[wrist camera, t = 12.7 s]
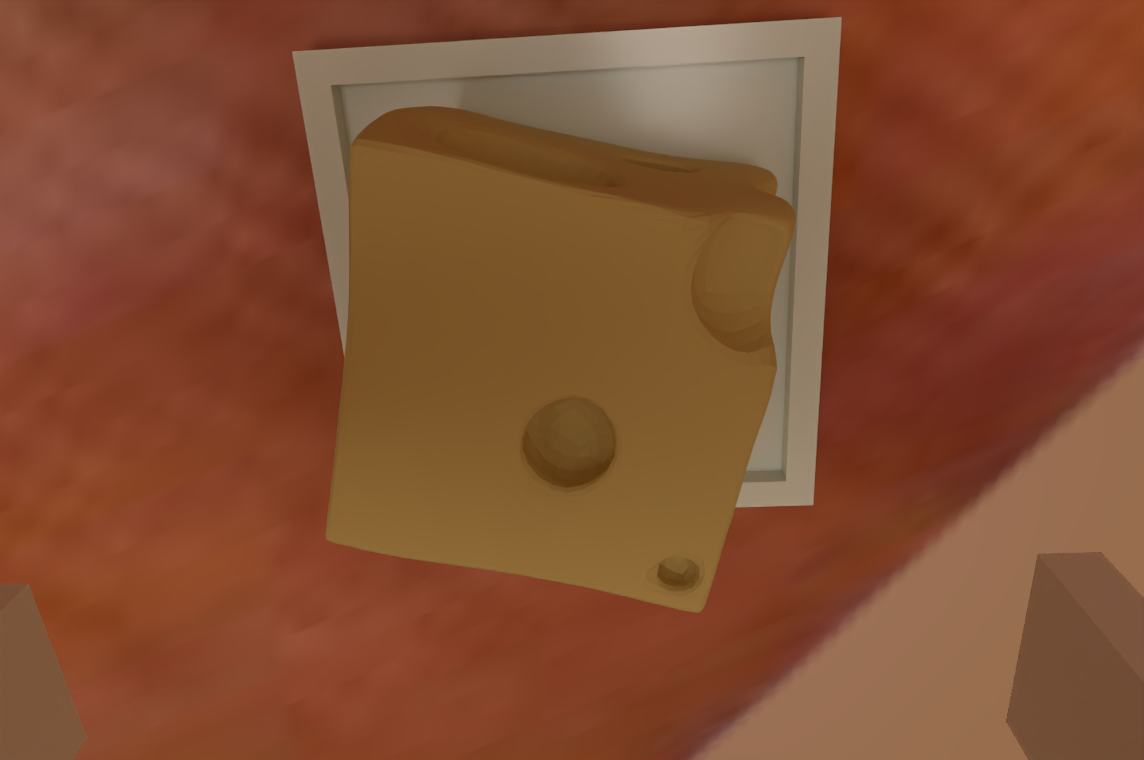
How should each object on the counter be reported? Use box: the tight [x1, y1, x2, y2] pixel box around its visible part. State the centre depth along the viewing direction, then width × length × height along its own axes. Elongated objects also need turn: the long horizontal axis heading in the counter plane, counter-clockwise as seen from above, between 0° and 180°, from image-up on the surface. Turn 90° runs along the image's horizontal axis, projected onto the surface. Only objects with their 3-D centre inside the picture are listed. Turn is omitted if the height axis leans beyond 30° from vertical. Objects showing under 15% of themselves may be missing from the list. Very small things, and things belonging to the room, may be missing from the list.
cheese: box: [326, 106, 796, 613], centre depth 23 cm, size 10×11×10 cm
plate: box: [292, 17, 842, 507], centre depth 28 cm, size 16×16×2 cm
